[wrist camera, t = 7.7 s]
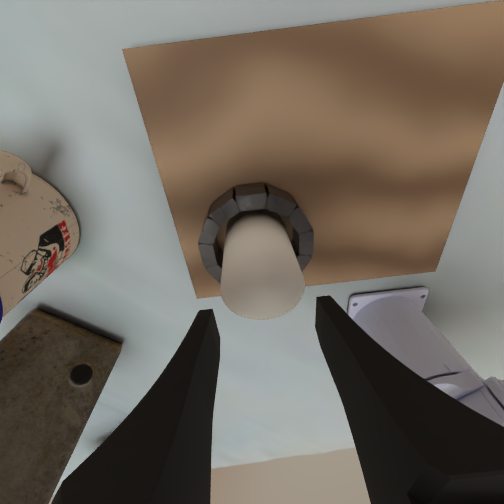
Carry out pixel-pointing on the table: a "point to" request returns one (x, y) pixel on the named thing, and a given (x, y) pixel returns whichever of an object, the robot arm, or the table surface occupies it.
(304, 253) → the faceted grey ring
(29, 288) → the teacup with lid
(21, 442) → the vintage camera
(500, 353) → the table surface
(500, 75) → the board
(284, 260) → the cap plug
